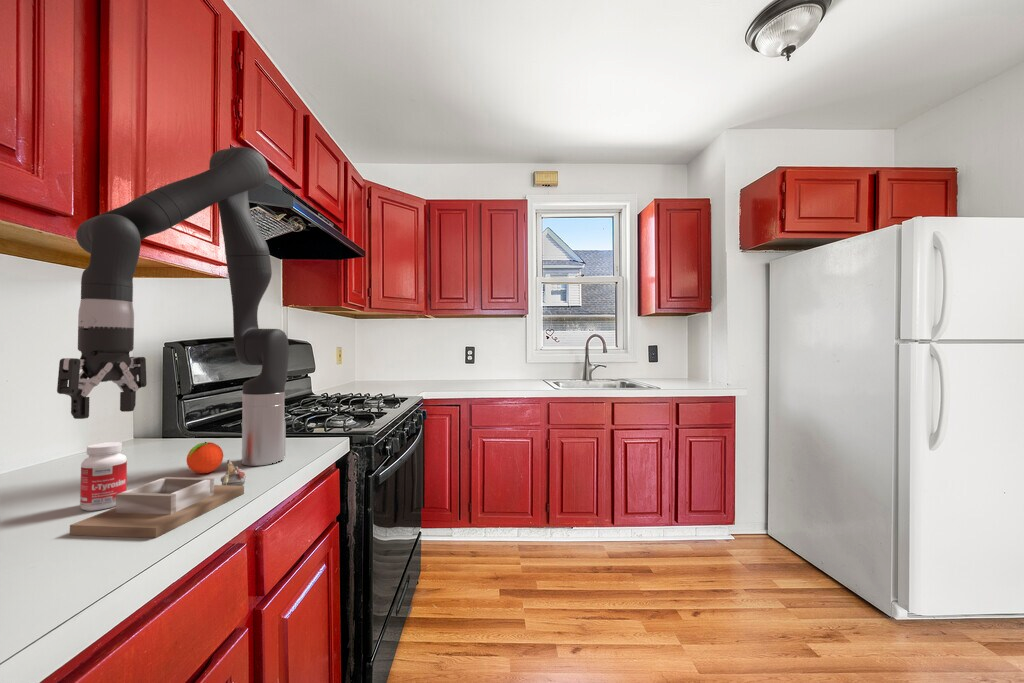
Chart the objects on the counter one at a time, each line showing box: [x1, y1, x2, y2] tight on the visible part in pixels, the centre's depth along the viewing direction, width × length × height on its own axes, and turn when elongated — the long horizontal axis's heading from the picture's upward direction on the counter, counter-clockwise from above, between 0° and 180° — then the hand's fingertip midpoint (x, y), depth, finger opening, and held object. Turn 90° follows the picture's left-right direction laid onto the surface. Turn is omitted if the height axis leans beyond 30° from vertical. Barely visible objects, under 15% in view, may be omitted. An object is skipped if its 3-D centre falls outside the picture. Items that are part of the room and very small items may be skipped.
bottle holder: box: [69, 476, 245, 539], centre depth 77 cm, size 20×14×4 cm
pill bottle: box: [79, 441, 128, 512], centre depth 80 cm, size 6×6×11 cm
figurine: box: [220, 459, 247, 486], centre depth 91 cm, size 5×4×6 cm
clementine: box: [186, 441, 224, 475], centre depth 100 cm, size 8×7×7 cm
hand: (105, 414), depth 80 cm, fingers open, 8 cm apart
